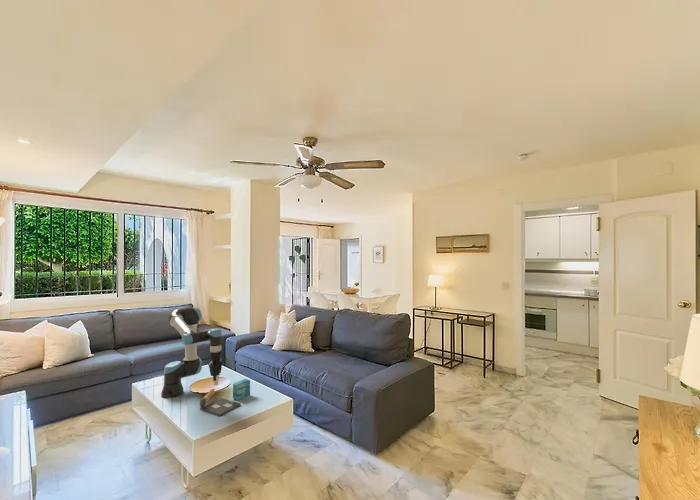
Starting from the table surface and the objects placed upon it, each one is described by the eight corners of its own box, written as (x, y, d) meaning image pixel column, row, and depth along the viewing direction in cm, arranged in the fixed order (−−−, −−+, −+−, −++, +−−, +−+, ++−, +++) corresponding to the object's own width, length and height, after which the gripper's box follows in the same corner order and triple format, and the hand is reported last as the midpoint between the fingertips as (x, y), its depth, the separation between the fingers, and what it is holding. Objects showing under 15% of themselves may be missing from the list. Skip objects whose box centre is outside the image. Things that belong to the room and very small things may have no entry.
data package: (236, 401, 239) (236, 384, 239) (232, 399, 242) (232, 383, 242) (250, 395, 249) (250, 379, 249) (246, 394, 251) (246, 378, 252)
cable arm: (204, 405, 225) (204, 400, 225) (199, 406, 225) (199, 400, 225) (215, 393, 245) (215, 387, 246) (210, 393, 245) (210, 388, 245)
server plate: (199, 409, 226) (199, 405, 226) (221, 399, 241) (221, 395, 241) (219, 416, 216) (219, 412, 216) (240, 405, 232) (240, 401, 232)
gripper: (213, 354, 223) (213, 388, 222) (226, 349, 236) (226, 382, 235) (204, 353, 226) (204, 387, 225) (218, 348, 238) (218, 380, 237)
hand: (215, 384), depth 230 cm, fingers closed
